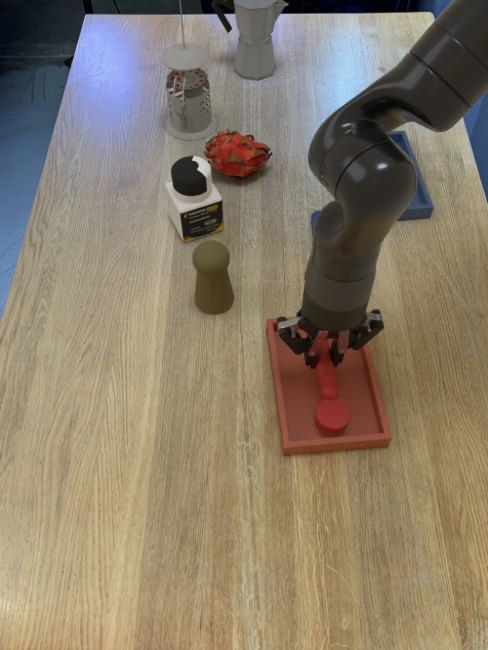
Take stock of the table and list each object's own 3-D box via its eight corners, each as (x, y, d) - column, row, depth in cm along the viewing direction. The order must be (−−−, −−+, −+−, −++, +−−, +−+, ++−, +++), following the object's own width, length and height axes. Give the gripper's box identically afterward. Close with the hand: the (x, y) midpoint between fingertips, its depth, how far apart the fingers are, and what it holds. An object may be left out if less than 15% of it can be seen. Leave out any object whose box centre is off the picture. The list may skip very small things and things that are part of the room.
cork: (206, 277, 93) (201, 228, 84) (241, 291, 91) (240, 242, 82) (187, 305, 90) (180, 257, 81) (222, 320, 88) (219, 273, 79)
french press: (221, 110, 116) (215, -25, 96) (209, 149, 110) (200, 14, 89) (172, 105, 117) (156, -30, 97) (157, 143, 111) (136, 8, 90)
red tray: (358, 321, 88) (360, 311, 86) (388, 446, 77) (391, 438, 75) (266, 328, 87) (266, 318, 85) (283, 455, 76) (284, 447, 74)
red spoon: (299, 327, 85) (300, 317, 83) (330, 324, 85) (332, 314, 83) (318, 434, 76) (320, 425, 74) (352, 431, 76) (355, 422, 74)
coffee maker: (288, 59, 126) (294, -31, 111) (280, 84, 121) (285, -7, 106) (220, 51, 128) (216, -39, 113) (209, 74, 123) (203, -16, 108)
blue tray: (402, 141, 111) (405, 130, 109) (430, 218, 100) (434, 207, 98) (329, 146, 110) (330, 135, 108) (349, 224, 99) (351, 213, 97)
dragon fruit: (200, 174, 108) (265, 181, 110) (200, 179, 100) (271, 187, 102) (204, 125, 106) (271, 133, 107) (205, 126, 98) (278, 135, 99)
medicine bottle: (183, 243, 97) (176, 188, 87) (168, 214, 101) (159, 158, 91) (224, 230, 98) (221, 174, 89) (208, 202, 102) (203, 145, 92)
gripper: (280, 315, 65) (274, 390, 79) (407, 305, 65) (379, 382, 80) (272, 261, 69) (268, 343, 83) (391, 253, 69) (367, 335, 84)
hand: (322, 361), depth 81 cm, fingers closed on red spoon, 2 cm apart
